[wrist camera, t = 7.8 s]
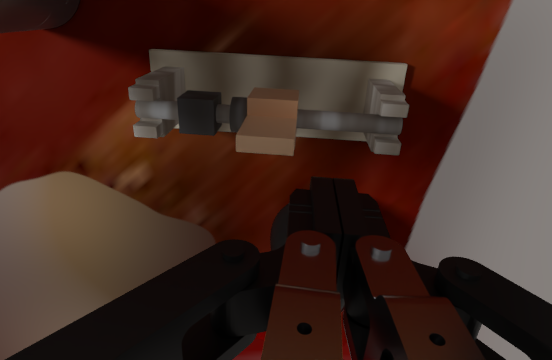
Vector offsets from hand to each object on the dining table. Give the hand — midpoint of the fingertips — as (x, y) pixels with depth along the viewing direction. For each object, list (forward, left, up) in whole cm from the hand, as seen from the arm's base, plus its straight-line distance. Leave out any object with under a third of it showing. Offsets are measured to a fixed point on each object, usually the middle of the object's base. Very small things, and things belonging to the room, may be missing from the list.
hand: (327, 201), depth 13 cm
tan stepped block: (-4, -3, -21) cm, 21 cm away
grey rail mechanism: (-4, -3, -27) cm, 27 cm away
